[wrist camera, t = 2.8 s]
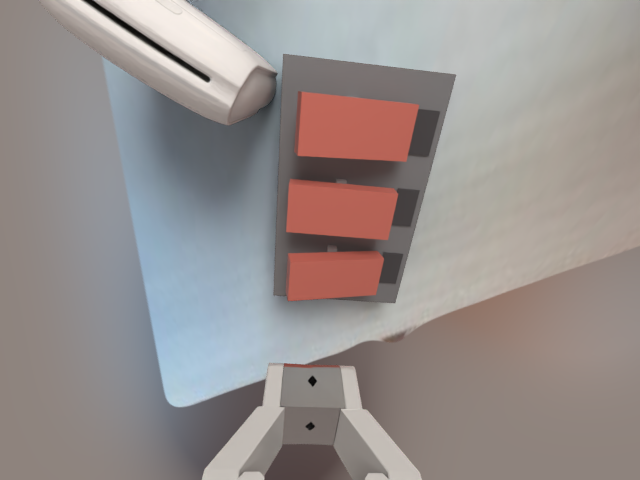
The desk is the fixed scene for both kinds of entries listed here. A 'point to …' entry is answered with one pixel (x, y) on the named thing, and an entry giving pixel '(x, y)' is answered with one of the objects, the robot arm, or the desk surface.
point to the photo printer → (174, 53)
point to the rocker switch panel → (401, 176)
